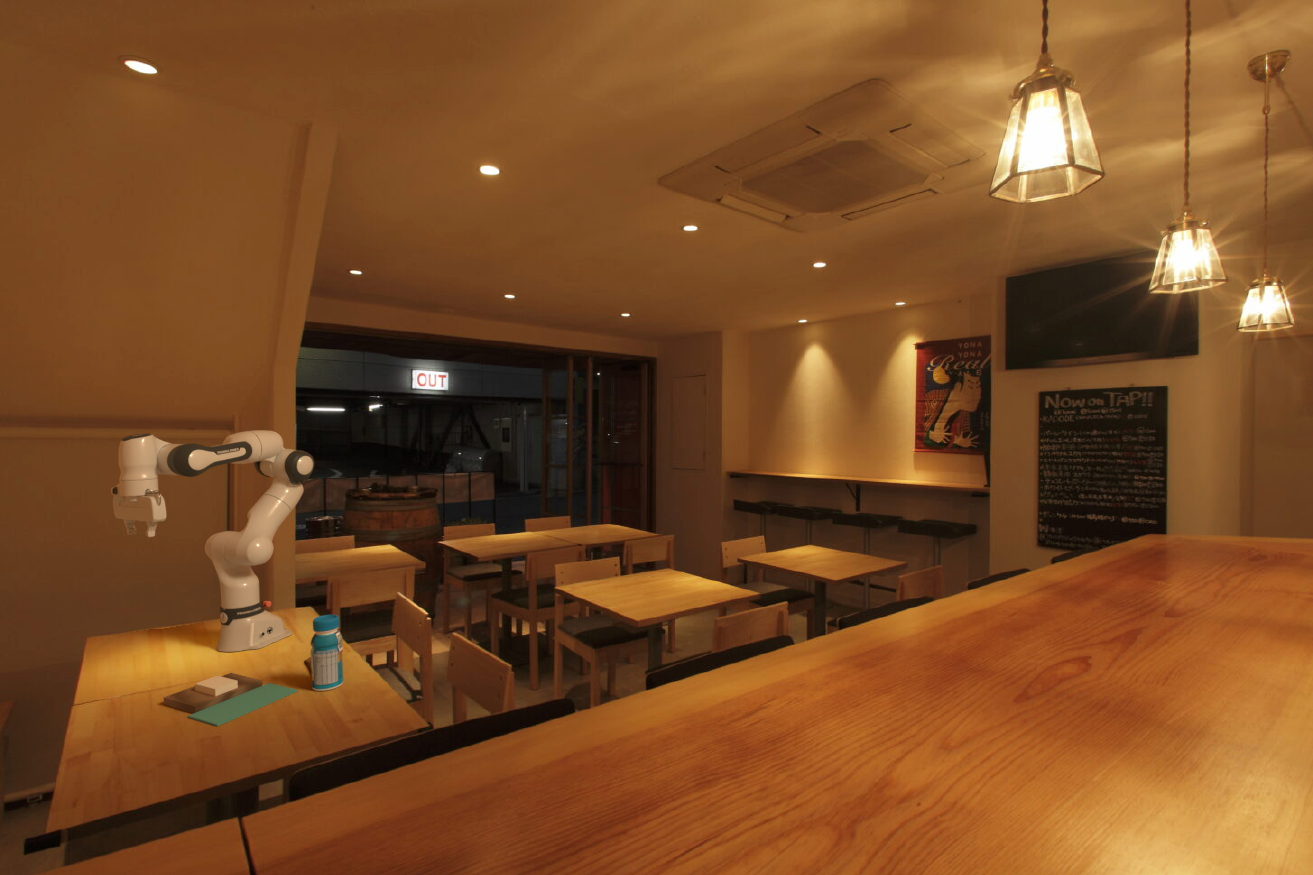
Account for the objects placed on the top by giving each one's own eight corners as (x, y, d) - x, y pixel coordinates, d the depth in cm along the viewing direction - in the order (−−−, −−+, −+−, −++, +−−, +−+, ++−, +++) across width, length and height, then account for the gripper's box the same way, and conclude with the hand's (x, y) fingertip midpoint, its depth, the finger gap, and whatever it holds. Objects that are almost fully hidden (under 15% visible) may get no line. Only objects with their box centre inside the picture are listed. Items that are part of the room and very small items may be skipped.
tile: (217, 682, 181) (217, 675, 181) (237, 687, 177) (237, 680, 177) (195, 690, 176) (194, 683, 175) (215, 696, 172) (215, 689, 172)
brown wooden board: (231, 679, 188) (231, 672, 188) (262, 686, 182) (262, 680, 182) (163, 704, 171) (163, 697, 171) (195, 713, 166) (195, 706, 166)
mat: (269, 684, 184) (269, 682, 184) (297, 691, 179) (297, 689, 179) (188, 717, 164) (188, 715, 164) (217, 726, 159) (217, 724, 159)
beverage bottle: (321, 694, 177) (319, 624, 176) (305, 687, 181) (303, 619, 181) (350, 683, 184) (348, 616, 183) (333, 677, 189) (331, 611, 188)
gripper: (172, 489, 184) (173, 535, 185) (132, 486, 193) (134, 531, 193) (147, 491, 178) (149, 539, 179) (107, 488, 187) (109, 534, 187)
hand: (141, 535), depth 186 cm, fingers open, 8 cm apart
